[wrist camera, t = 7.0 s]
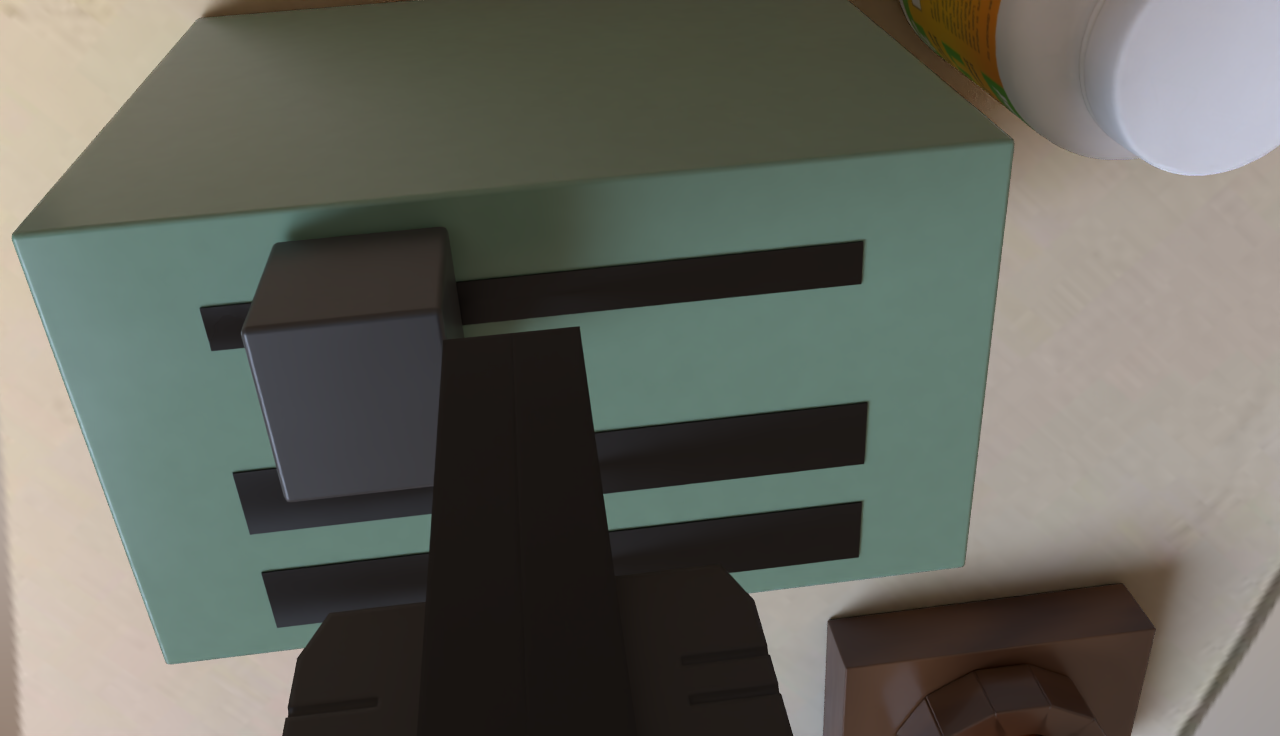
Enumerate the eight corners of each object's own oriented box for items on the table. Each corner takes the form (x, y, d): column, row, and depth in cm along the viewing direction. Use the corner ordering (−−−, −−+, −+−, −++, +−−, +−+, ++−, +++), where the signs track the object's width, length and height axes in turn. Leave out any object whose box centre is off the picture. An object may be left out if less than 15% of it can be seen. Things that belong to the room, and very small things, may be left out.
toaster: (811, -33, 27) (1019, 140, 16) (804, 276, 31) (966, 570, 21) (196, 17, 26) (6, 236, 15) (273, 330, 30) (164, 669, 19)
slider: (447, 223, 16) (442, 310, 14) (471, 382, 17) (469, 484, 15) (272, 240, 16) (237, 330, 14) (310, 400, 17) (284, 506, 15)
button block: (1123, 582, 38) (1187, 670, 35) (1088, 748, 42) (1141, 842, 39) (827, 619, 37) (862, 713, 34) (820, 785, 41) (851, 884, 38)
